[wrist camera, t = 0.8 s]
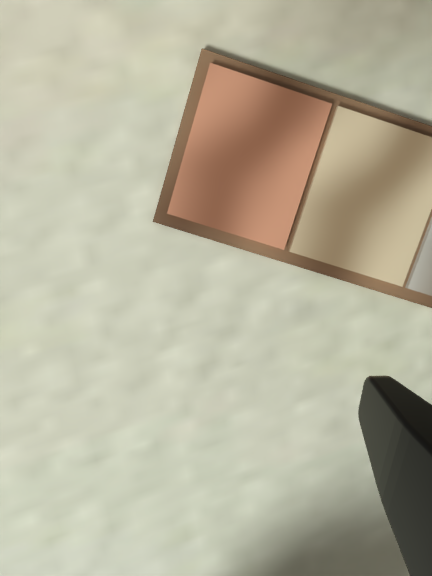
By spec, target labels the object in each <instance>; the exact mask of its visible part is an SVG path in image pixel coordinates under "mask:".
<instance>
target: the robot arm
mask: <svg viewBox="0 0 432 576" xmlns="http://www.w3.org/2000/svg"><path fill="white" fill-rule="evenodd" d="M358 414H359V422H360V426H361V429H362V433H363V436H364V440H365V444H366V447H367V451H368V455H369V458H370V462H371V466H372V469H373V473H374V477H375V480H376V484H377V488H378V491H379V494H380V498H381V501H382V504H383V506H384V509H385V512H386V515H387V517H388V520H389V522H390V525H391V528H392V530H393V533H394V535H395V538H396V540H397V543H398V545H399V548H400V551H401V553H402V556H403V558H404V561H405V563H406V566H407V568H408V571H409V574H410V576H432V405H431V404H429V403H428V402H427V401H425V400H424V399H422V398H421V397H419V396H418V395H416V394H415V393H414V392H412V391H411V390H409V389H408V388H406V387H405V386H403V385H402V384H400V383H399V382H398V381H396V380H395V379H393V378H391V377H389V376H369V377H367V378H366V380H365V382H364V386H363V390H362V395H361V400H360V405H359V412H358Z"/></svg>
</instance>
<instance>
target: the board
mask: <svg viewBox="0 0 432 576" xmlns="http://www.w3.org/2000/svg"><path fill="white" fill-rule="evenodd" d="M153 222H156V223H159V224H162V225H165V226H169V227H172V228H175V229H178V230H182V231H185V232H188V233H191V234H195V235H198V236H201V237H204V238H207V239H211V240H214V241H217V242H220V243H224V244H227V245H230V246H233V247H237V248H240V249H243V250H246V251H249V252H253V253H256V254H259V255H262V256H266V257H269V258H272V259H275V260H279V261H282V262H285V263H288V264H292V265H295V266H298V267H301V268H304V269H308V270H311V271H314V272H317V273H321V274H324V275H327V276H330V277H334V278H337V279H340V280H343V281H346V282H350V283H353V284H356V285H359V286H363V287H366V288H369V289H372V290H376V291H379V292H382V293H385V294H388V295H392V296H395V297H398V298H401V299H405V300H408V301H411V302H414V303H418V304H421V305H424V306H427V307H430V308H432V126H429V125H426V124H424V123H421V122H418V121H415V120H412V119H409V118H406V117H403V116H400V115H397V114H394V113H391V112H388V111H385V110H382V109H379V108H376V107H373V106H370V105H367V104H364V103H361V102H359V101H356V100H353V99H350V98H347V97H344V96H341V95H338V94H335V93H332V92H329V91H326V90H323V89H320V88H317V87H314V86H311V85H308V84H305V83H302V82H299V81H297V80H294V79H291V78H288V77H285V76H282V75H279V74H276V73H273V72H270V71H267V70H264V69H261V68H258V67H255V66H252V65H249V64H246V63H243V62H240V61H237V60H234V59H232V58H229V57H226V56H223V55H220V54H217V53H214V52H211V51H208V50H205V49H202V50H201V53H200V57H199V60H198V64H197V67H196V71H195V75H194V78H193V82H192V85H191V89H190V92H189V96H188V99H187V103H186V106H185V110H184V113H183V117H182V120H181V124H180V128H179V131H178V135H177V138H176V142H175V145H174V149H173V152H172V156H171V159H170V163H169V166H168V170H167V174H166V177H165V181H164V184H163V188H162V191H161V195H160V198H159V202H158V205H157V209H156V212H155V216H154V219H153Z"/></svg>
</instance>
